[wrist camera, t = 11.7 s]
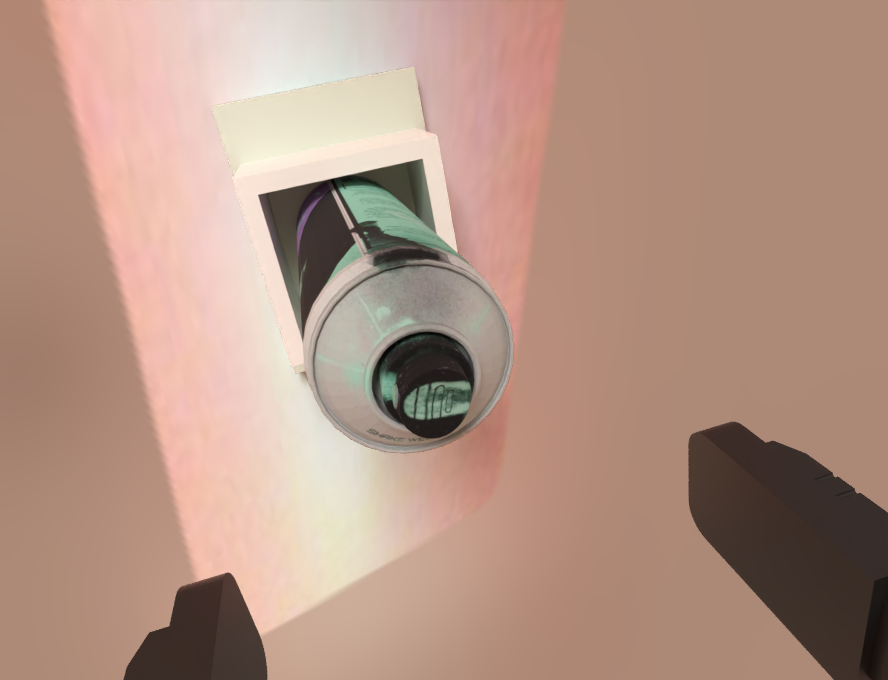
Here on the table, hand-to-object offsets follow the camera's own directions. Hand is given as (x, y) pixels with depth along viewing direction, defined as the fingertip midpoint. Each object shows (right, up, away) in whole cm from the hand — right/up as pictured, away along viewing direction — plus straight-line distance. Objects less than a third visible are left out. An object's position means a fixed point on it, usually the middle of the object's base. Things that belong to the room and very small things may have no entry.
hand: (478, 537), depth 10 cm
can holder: (-6, +9, +22) cm, 25 cm away
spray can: (-5, +9, +21) cm, 24 cm away
